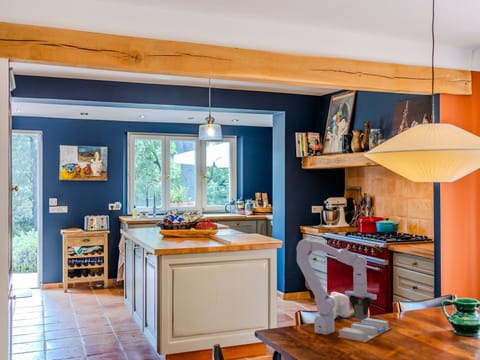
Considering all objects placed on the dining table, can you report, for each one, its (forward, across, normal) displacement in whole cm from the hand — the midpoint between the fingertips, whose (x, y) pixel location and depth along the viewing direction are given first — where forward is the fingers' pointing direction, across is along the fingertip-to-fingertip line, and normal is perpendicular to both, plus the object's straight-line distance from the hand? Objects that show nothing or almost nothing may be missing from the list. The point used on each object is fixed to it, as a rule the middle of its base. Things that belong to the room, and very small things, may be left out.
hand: (361, 313), depth 215 cm
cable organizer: (+10, +27, -23) cm, 37 cm away
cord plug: (+2, 0, 0) cm, 2 cm away
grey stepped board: (+10, 0, -3) cm, 10 cm away
